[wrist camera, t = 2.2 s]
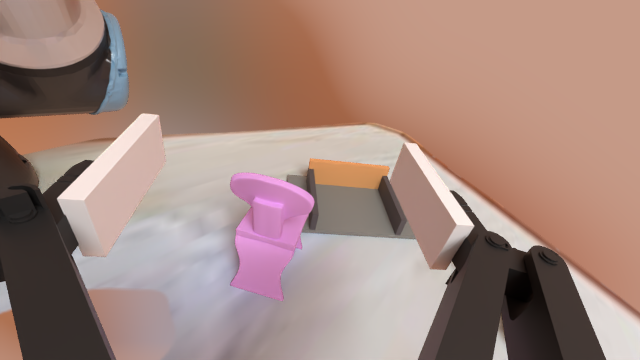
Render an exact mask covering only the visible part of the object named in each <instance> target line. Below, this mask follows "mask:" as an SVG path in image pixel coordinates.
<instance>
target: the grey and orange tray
mask: <svg viewBox="0 0 640 360" xmlns="http://www.w3.org/2000/svg"><path fill="white" fill-rule="evenodd" d="M388 172H389V167H388V166H381V165H371V164H361V163H351V162H341V161H331V160H321V159H311V158H310V162H309V168H308V174H307V176H297V175H288V183H291V184H293V185H296V186H298V187H300V188H302V189H303V190H305V191H307V192H308V193H309V194H310V195H312V197H313V198H314V206H313V208H312V210H311V212H310V213H309V215H308V217H307V219H306V222H305V224H304V227H303V229H302V232H305V233H322V234H338V235H355V236H372V237H389V238H406V239H416V237H415V235H414V233H413V231H412V228H411V226H410V224H409V222H408V220H407V218H406V215H405V213H404V211H403V209H402V207H401V205H400V202H399V200H398V198H397V196H396V194H395V192H394V189H393V187H392V185H391V184H390V182H389V179H388V177H387V174H388Z"/></svg>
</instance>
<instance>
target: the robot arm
mask: <svg viewBox="0 0 640 360" xmlns="http://www.w3.org/2000/svg"><path fill="white" fill-rule="evenodd" d="M128 96H129V82H128V74H127V60H126V53H125V46H124V41H123V36H122V32H121V28H120V25H119V22H118V20H117V19H116V17H114V15H112V14H110V13H106V12H104V11H103V10H100V9H99V7H98V6H97V4H96V2H95V1H94V0H0V118H15V117H31V116H49V115H67V114H84V113H89V114H93V115H95V114H99V113H101V112H110V111H117V110H120V109H122V108H124V107H125V105H126V104H127V102H128ZM165 163H166V157H165V151H164V145H163V138H162V132H161V127H160V120H159V115H153V114H141V115H140V116H139V117H138V118H137V119H136V120H135V121H134V122H133V123H132V124H131V125H130V126H129V127H128V128H127V129H126V130H125V131H124V132H123V133H122V134H121V135H120V136H119V137H118V138H117V139H116V140H115V141H114V142H113V143H112V144H111V145H110V146H109V147H108V148H107V149H106V150H105V151H104V152H103V153H102V154H101V155H100V156H99V157H98V158H97V159H96V160H95V161H92V160H84V161H82V162H80V163H78V164H76V165H74V166H72V167H71V168H70V169H69V170H68V171H67V172H66V173H65V174H64V176H62V177H60V178H59V179H58V180H57V182H55V183H54V184H53V185H52V186H51V187H50V188H49V189H47V190H46V191H45V192H44V193H43V194H42V193H41V191H40V189H39V188H38V187H37V186H38V178H37V175H36V173H35V171H34V169H33V167H32V165H31V164H30V162H29V161H28V160H27V159H26V158H24V157H23V156H22V155H20V154H18V153H17V151H16V150H15V149H14V148H13V147H12V146H11V145H10V144H9V143H8V142H7V141H5V140H4V139H3V138H2V137H1V136H0V282H3V281H6V285H7V290H8V294H9V299H10V303H11V308H12V312H13V316H14V321H15V325H16V330H17V334H18V339H19V343H20V348H21V352H22V356H23V360H116V358H115V356H114V353H113V351H112V349H111V346H110V344H109V342H108V339H107V337H106V335H105V332H104V330H103V327H102V325H101V323H100V320H99V318H98V316H97V313H96V311H95V309H94V306H93V304H92V301H91V299H90V297H89V294H88V292H87V289H86V287H85V285H84V282H83V280H82V278H81V275H80V273H79V271H78V268H77V266H76V263H75V261H74V259H73V257H72V255H71V254H72V253H73V251H74V250H75V249H76V247H77V246H79V248H80V251H81V253H82V255H83V256H96V257H106V256H107V254H108V253H109V251H110V249H111V248H112V246H113V245H114V243H115V242H116V240H117V238H118V237H119V235H120V234H121V232H122V231H123V229H124V227H125V226H126V224H127V223H128V221H129V219H130V218H131V216H132V215H133V213H134V212H135V210H136V208H137V207H138V205H139V204H140V202H141V200H142V199H143V197H144V196H145V194H146V193H147V191H148V189H149V188H150V186H151V185H152V183H153V181H154V180H155V178H156V177H157V175H158V174H159V172H160V170H161V169H162V167H163V166H164V164H165ZM390 183H391V185H392V187H393V189H394V192H395V194H396V196H397V198H398V200H399V202H400V205H401V207H402V209H403V211H404V213H405V215H406V218H407V220H408V222H409V224H410V226H411V228H412V231H413V233H414V235H415V237H416V239H417V241H418V244H419V246H420V248H421V250H422V252H423V254H424V257H425V259H426V261H427V263H428V265H429V267H430V269H439V270H446V269H447V267H448V266H449V264H450V263H451V261H452V262H453V263H454V265H455V267H456V269H455V270H454V272H453V273H452V275H451V276H450V277H449V279H448V280H447V282H446V283H445V284H447V285H448V286H447V288H446V291H445V293H444V296H443V298H442V301H441V303H440V306H439V308H438V311H437V313H436V316H435V318H434V321H433V323H432V326H431V328H430V331H429V333H428V336H427V338H426V341H425V343H424V346H423V348H422V351H421V353H420V356H419V358H418V360H492V359H493V354H494V348H495V343H496V337H497V332H498V326H499V321H500V315H501V313H502V320H503V327H504V334H505V340H506V347H507V354H508V360H606V358H605V356H604V353H603V351H602V348H601V346H600V344H599V341H598V339H597V336H596V334H595V332H594V329H593V327H592V324H591V322H590V320H589V317H588V315H587V312H586V310H585V308H584V305H583V303H582V301H581V298H580V296H579V293H578V291H577V289H576V286H575V284H574V281H573V279H572V277H571V274H570V272H569V269H568V267H567V265H566V263H565V262H564V260H563V259H562V258H561V257H560V256H559V255H558V254H557V253H555V252H554V251H552V250H550V249H548V248H546V247H542V246H533V247H532V248H531V249H530V250H529V251H528V252H523V251H520V250H517V249H513V248H512V247H511V245H510V244H509V242H508V241H506V240H505V239H504V238H503V237H501V236H500V235H498V234H496V233H494V232H491V231H487V230H486V229H485V227H484V226H483V225H482V223H481V222H480V221H479V219H478V218H477V217H476V215H475V214H474V213H473V212H472V210H471V209H470V207H469V206H468V205H467V203H466V202H465V200H464V199H463V198H462V197H461V196H460V195H458V194H457V193H456V192H455V191H451V190H449V189H448V188H447V186H446V185H445V184H444V182H443V181H442V179H441V178H440V177H439V175H438V174H437V172H436V171H435V169H434V168H433V167H432V165H431V164H430V162H429V161H428V160H427V158H426V157H425V155H424V154H423V153H422V151H421V150H420V148H419V147H418V145H417V144H413V143H404V144H403V146H402V149H401V152H400V155H399V157H398V160H397V163H396V165H395V168H394V171H393V173H392V176H391V179H390Z"/></svg>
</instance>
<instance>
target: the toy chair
mask: <svg viewBox="0 0 640 360" xmlns="http://www.w3.org/2000/svg"><path fill="white" fill-rule="evenodd" d="M230 187H231V190H232V192H233V193H234V194H235V195H236V196H238V197H239V198H241V199H243V200H244V201H246V202H247V203H248V204H250V205H251V208H250V209H249V211H248V212H247V214H246V215H245V217H244V218H243V220H242V221H241V222H240V224H239V225H238V227H237V228H236V237H235V246H236V249H237V252H238V255H239V260H240V266H239V270H238V272H237V274H236V276H235V277H234V279H233V280H232V282H231V284H230V285H231V286H234V287H237V288H241V289H244V290H247V291H250V292H254V293H257V294H260V295H264V296H267V297H270V298H274V299H277V300H280V301H283V299H284V296H283V293H282V288H281V281H280V280H281V273H282V271H283V269H284V268H285V266H286V265H287V264H288V263H289V262H290V260H291V259H292V257H293V254H294V251H295V248H299V249H302V243H301V238H300V234H301V232H302V229H303V227H304V224H305V222H306V219H307V217H308V215H309V213H310V212H311V210H312V208H313V206H314V198H313V197H312V195H310V194H309V193H308V192H307V191H305V190H303V189H302V188H300V187H298V186H296V185H293V184H291V183H288V182H286V181H283V180H280V179H276V178H272V177H268V176H265V175H261V174H255V173H237V174H234V175H233V176H232V178H231V182H230Z"/></svg>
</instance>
